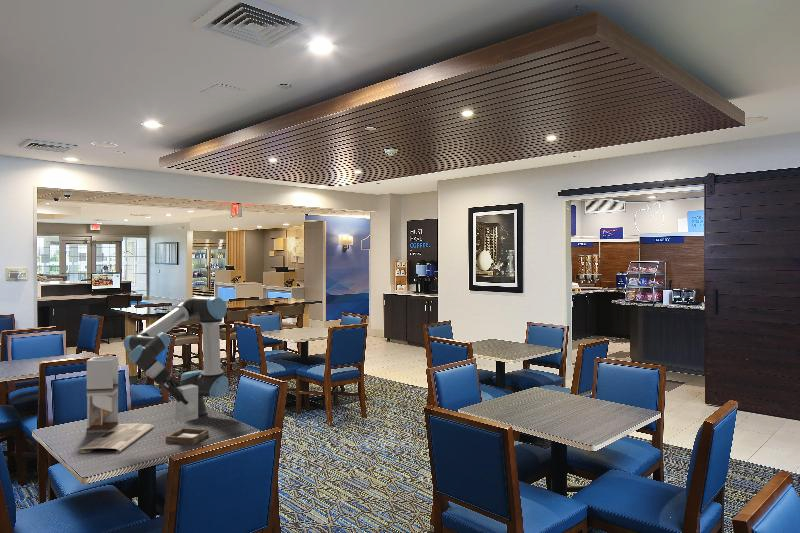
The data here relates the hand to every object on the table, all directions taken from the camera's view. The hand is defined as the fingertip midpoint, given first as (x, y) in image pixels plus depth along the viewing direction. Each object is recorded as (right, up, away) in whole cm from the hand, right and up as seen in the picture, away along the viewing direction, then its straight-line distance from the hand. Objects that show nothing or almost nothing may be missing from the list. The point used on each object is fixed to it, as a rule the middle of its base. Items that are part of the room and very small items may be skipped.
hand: (194, 405), depth 262 cm
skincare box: (-3, -7, -1) cm, 7 cm away
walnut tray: (-3, -16, 0) cm, 16 cm away
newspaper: (-34, -16, -2) cm, 37 cm away
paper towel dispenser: (-50, -15, +14) cm, 54 cm away
